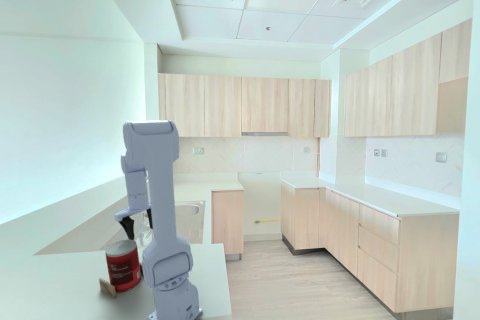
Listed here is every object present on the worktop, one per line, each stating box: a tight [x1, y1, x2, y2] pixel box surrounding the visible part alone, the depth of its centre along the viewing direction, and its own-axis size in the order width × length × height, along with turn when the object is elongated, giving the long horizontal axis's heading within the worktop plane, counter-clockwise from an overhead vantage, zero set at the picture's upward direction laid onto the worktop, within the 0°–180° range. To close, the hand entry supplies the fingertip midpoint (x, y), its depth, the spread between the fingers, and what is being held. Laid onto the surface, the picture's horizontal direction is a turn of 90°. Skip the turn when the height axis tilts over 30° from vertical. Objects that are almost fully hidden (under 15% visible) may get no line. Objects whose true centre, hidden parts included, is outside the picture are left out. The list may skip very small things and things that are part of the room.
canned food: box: [105, 239, 142, 293], centre depth 62 cm, size 8×8×11 cm
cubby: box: [98, 261, 143, 299], centre depth 63 cm, size 7×10×3 cm
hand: (142, 233), depth 71 cm, fingers open, 7 cm apart
